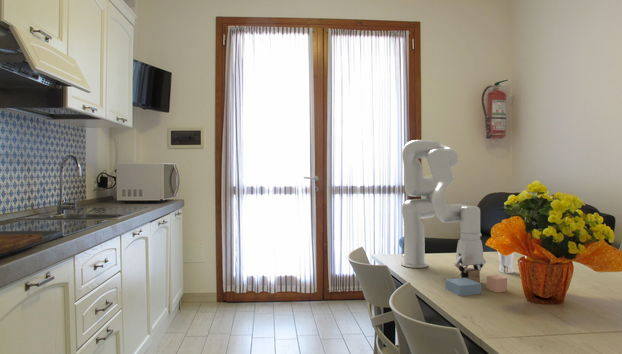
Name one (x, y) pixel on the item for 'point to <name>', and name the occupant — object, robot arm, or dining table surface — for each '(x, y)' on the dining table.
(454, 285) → the base block
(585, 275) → the dining table surface
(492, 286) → the pink cube
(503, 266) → the beer glass
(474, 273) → the walnut cube
